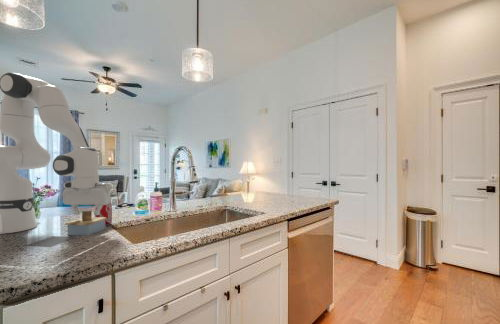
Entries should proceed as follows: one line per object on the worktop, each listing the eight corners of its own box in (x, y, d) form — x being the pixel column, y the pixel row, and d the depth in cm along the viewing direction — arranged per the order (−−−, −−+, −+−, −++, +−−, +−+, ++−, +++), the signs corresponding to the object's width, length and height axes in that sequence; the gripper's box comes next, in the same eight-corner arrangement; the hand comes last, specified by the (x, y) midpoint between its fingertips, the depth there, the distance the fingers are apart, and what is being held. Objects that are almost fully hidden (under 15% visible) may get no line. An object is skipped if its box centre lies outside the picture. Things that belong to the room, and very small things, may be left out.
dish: (67, 236, 97) (67, 224, 97) (85, 229, 107) (85, 218, 107) (88, 236, 96) (88, 224, 96) (105, 230, 106) (105, 219, 106)
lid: (65, 224, 97) (65, 213, 97) (85, 218, 107) (85, 208, 107) (88, 225, 96) (88, 213, 96) (106, 219, 106) (106, 208, 106)
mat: (24, 247, 85) (24, 245, 85) (52, 237, 96) (52, 236, 96) (51, 248, 84) (51, 246, 84) (76, 238, 95) (76, 236, 95)
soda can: (103, 227, 110) (103, 202, 110) (91, 226, 112) (91, 202, 112) (115, 223, 117) (115, 200, 117) (103, 223, 119) (103, 199, 119)
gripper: (113, 182, 104) (114, 213, 104) (72, 182, 106) (72, 212, 106) (103, 184, 98) (103, 216, 98) (59, 183, 100) (59, 215, 100)
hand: (87, 214), depth 102 cm, fingers open, 8 cm apart
